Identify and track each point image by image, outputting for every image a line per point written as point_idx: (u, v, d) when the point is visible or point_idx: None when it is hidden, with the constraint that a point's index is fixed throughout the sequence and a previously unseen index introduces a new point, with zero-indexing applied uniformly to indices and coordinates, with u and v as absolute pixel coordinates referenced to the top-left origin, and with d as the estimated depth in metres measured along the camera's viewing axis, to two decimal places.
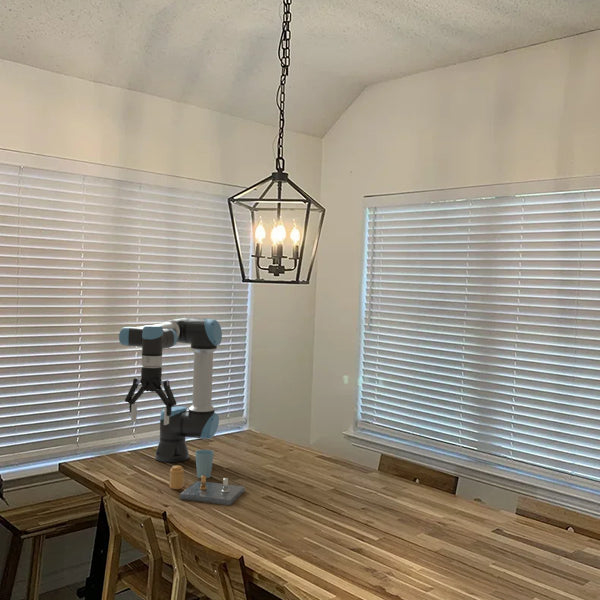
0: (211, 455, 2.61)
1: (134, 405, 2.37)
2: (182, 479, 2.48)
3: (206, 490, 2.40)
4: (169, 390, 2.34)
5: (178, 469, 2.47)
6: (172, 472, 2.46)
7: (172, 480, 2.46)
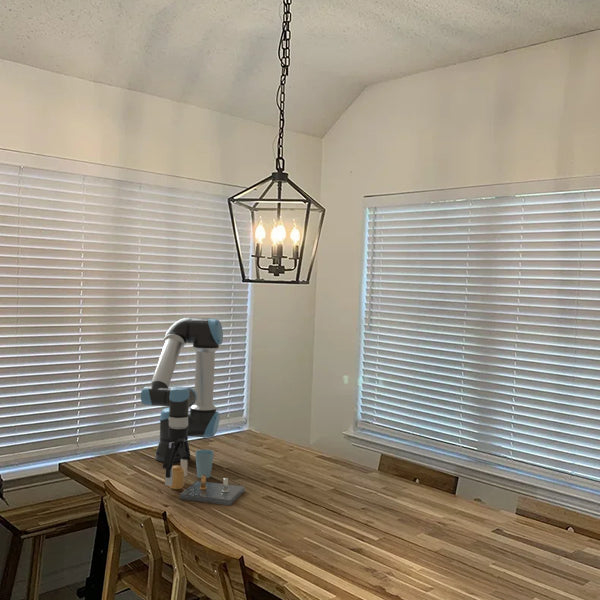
0: (211, 455, 2.61)
1: (182, 461, 2.54)
2: (182, 479, 2.48)
3: (206, 490, 2.40)
4: (167, 452, 2.41)
5: (178, 469, 2.47)
6: None
7: None
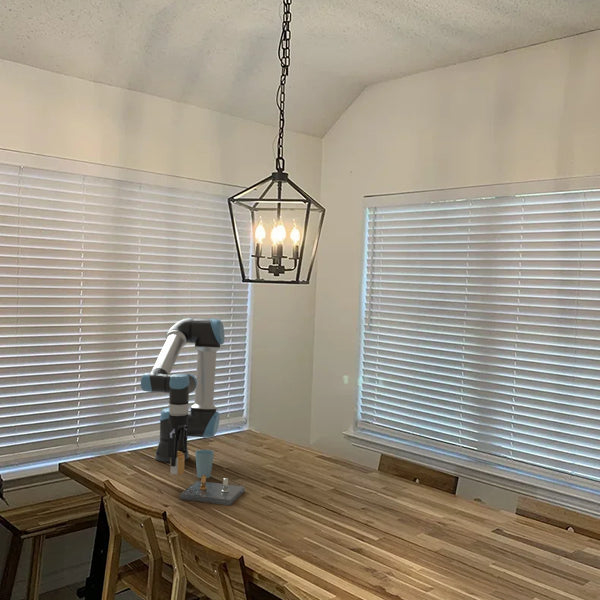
0: (211, 455, 2.61)
1: None
2: (183, 464, 2.48)
3: (206, 490, 2.40)
4: (170, 442, 2.42)
5: (179, 455, 2.47)
6: None
7: None
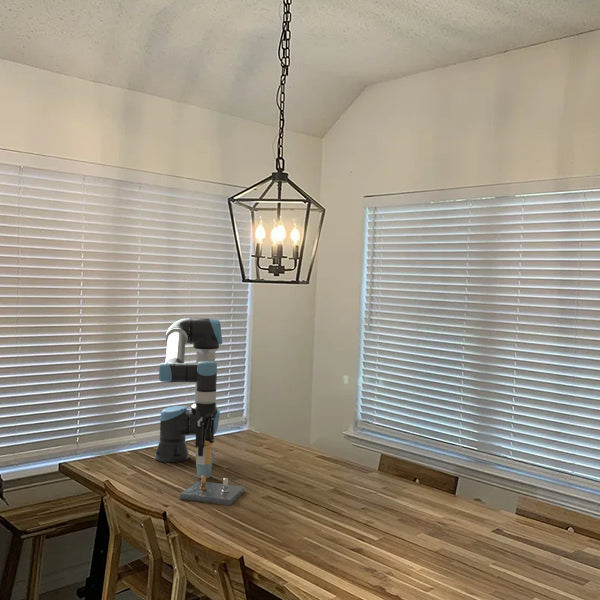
0: (211, 455, 2.61)
1: None
2: (210, 454, 2.40)
3: (206, 490, 2.40)
4: (197, 431, 2.35)
5: (206, 444, 2.39)
6: None
7: None
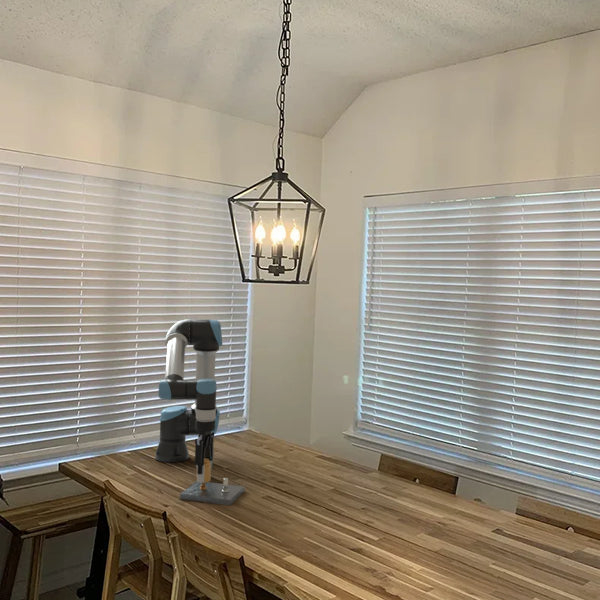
0: None
1: None
2: (209, 472, 2.41)
3: (206, 490, 2.40)
4: (197, 449, 2.35)
5: (205, 462, 2.39)
6: None
7: None
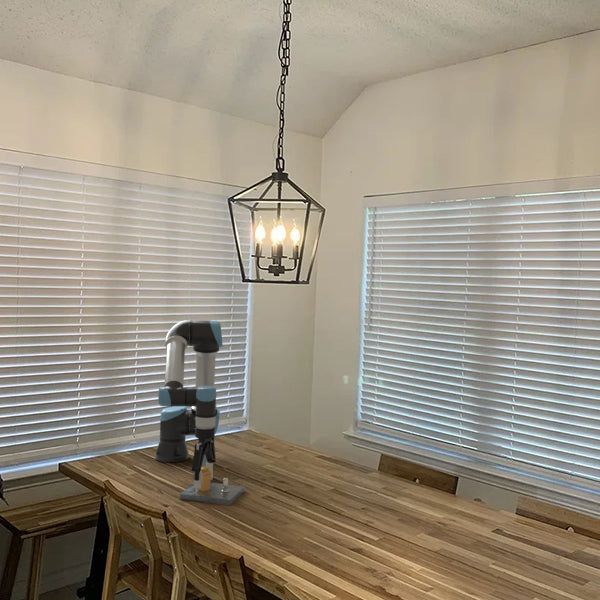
0: None
1: (208, 464, 2.47)
2: (209, 481, 2.41)
3: None
4: (195, 454, 2.34)
5: (205, 470, 2.40)
6: None
7: None
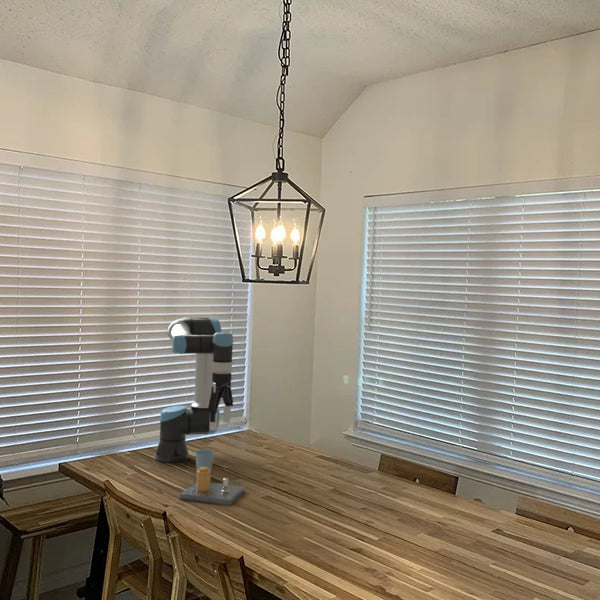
0: (211, 455, 2.61)
1: (225, 407, 2.52)
2: (209, 481, 2.41)
3: None
4: (212, 396, 2.38)
5: (205, 470, 2.40)
6: (199, 473, 2.39)
7: (199, 482, 2.39)
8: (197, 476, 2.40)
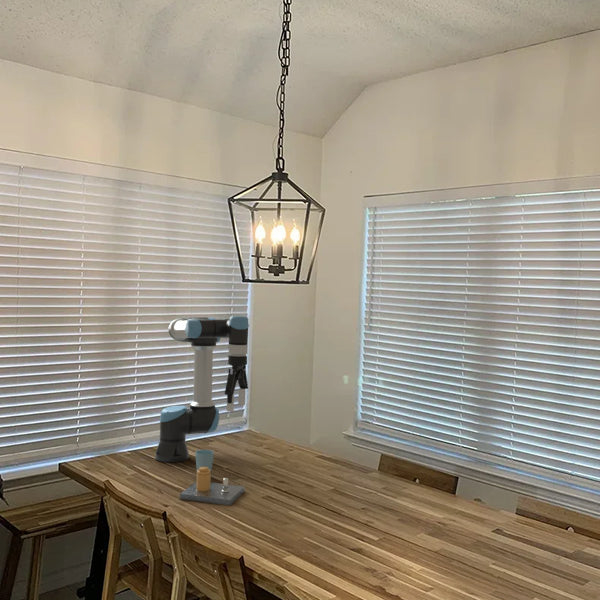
0: (211, 455, 2.61)
1: (240, 390, 2.57)
2: (209, 481, 2.41)
3: None
4: (229, 378, 2.43)
5: (205, 470, 2.40)
6: (199, 473, 2.39)
7: (199, 482, 2.39)
8: (197, 476, 2.40)
